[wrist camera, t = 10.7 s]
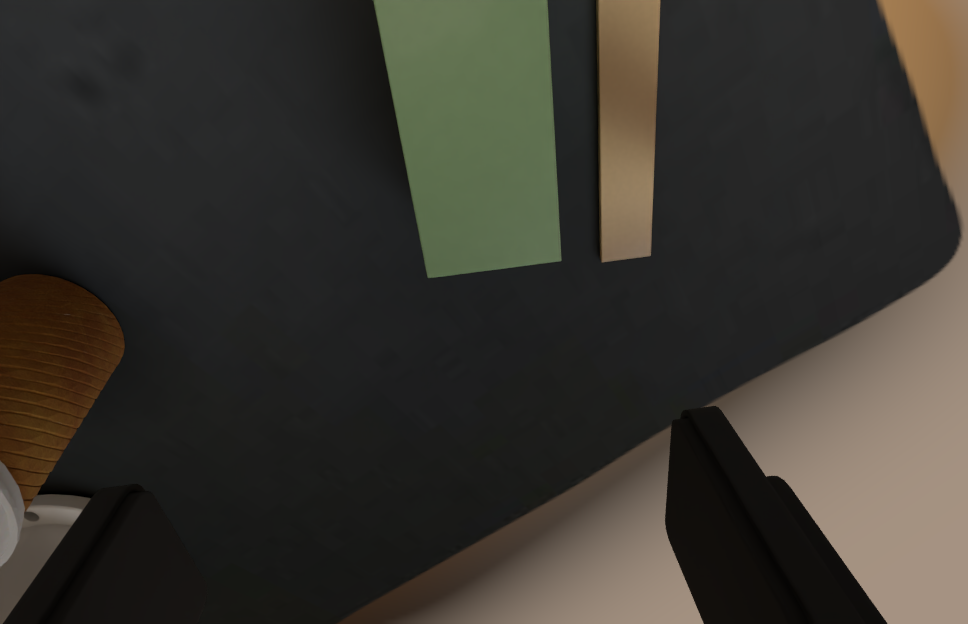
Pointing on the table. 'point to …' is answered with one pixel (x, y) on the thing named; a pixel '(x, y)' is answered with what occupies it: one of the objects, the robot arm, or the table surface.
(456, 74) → the green box
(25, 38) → the table surface
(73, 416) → the disposable coffee cup
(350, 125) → the table surface
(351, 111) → the table surface
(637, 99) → the strip
